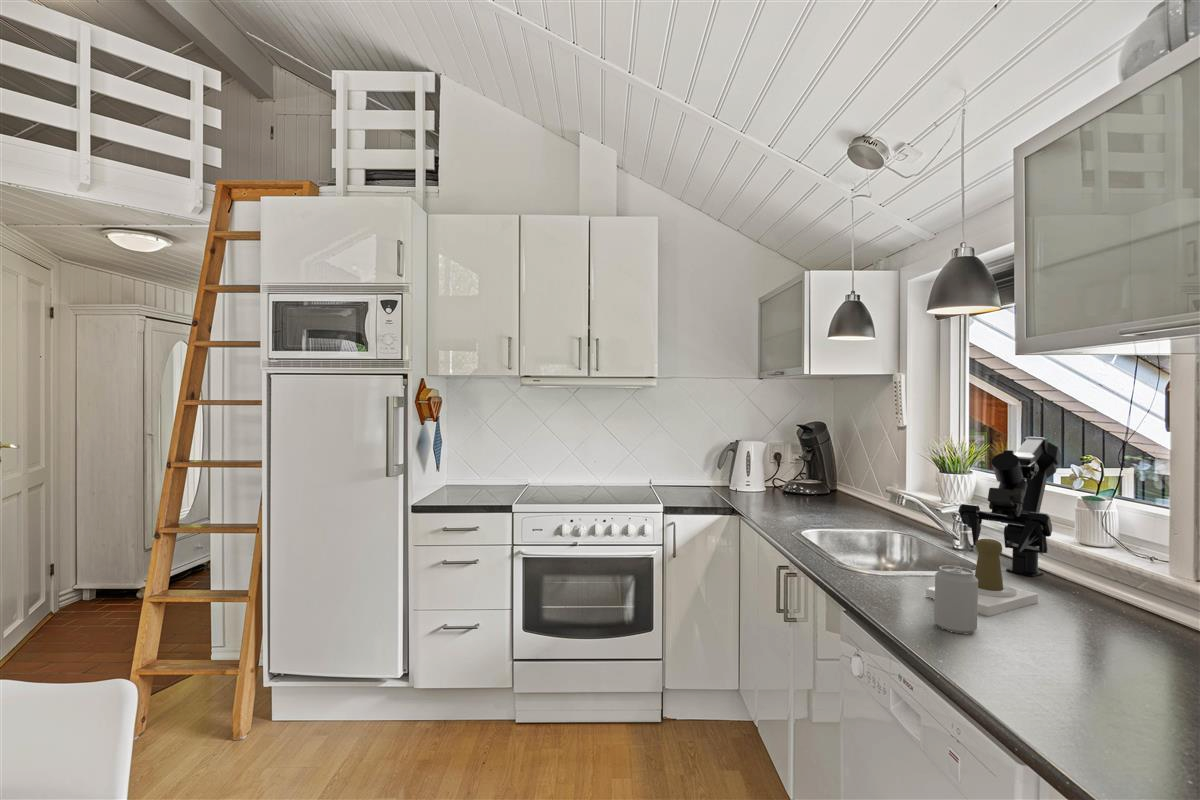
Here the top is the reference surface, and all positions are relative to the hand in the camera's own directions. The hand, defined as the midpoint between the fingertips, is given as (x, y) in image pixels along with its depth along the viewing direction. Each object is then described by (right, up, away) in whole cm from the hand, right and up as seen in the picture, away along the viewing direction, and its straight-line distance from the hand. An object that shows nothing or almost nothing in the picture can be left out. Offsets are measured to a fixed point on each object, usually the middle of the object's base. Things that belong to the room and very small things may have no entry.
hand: (996, 547), depth 148 cm
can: (-23, -11, -24) cm, 35 cm away
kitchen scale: (-7, -11, -5) cm, 14 cm away
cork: (-4, -8, -4) cm, 10 cm away
